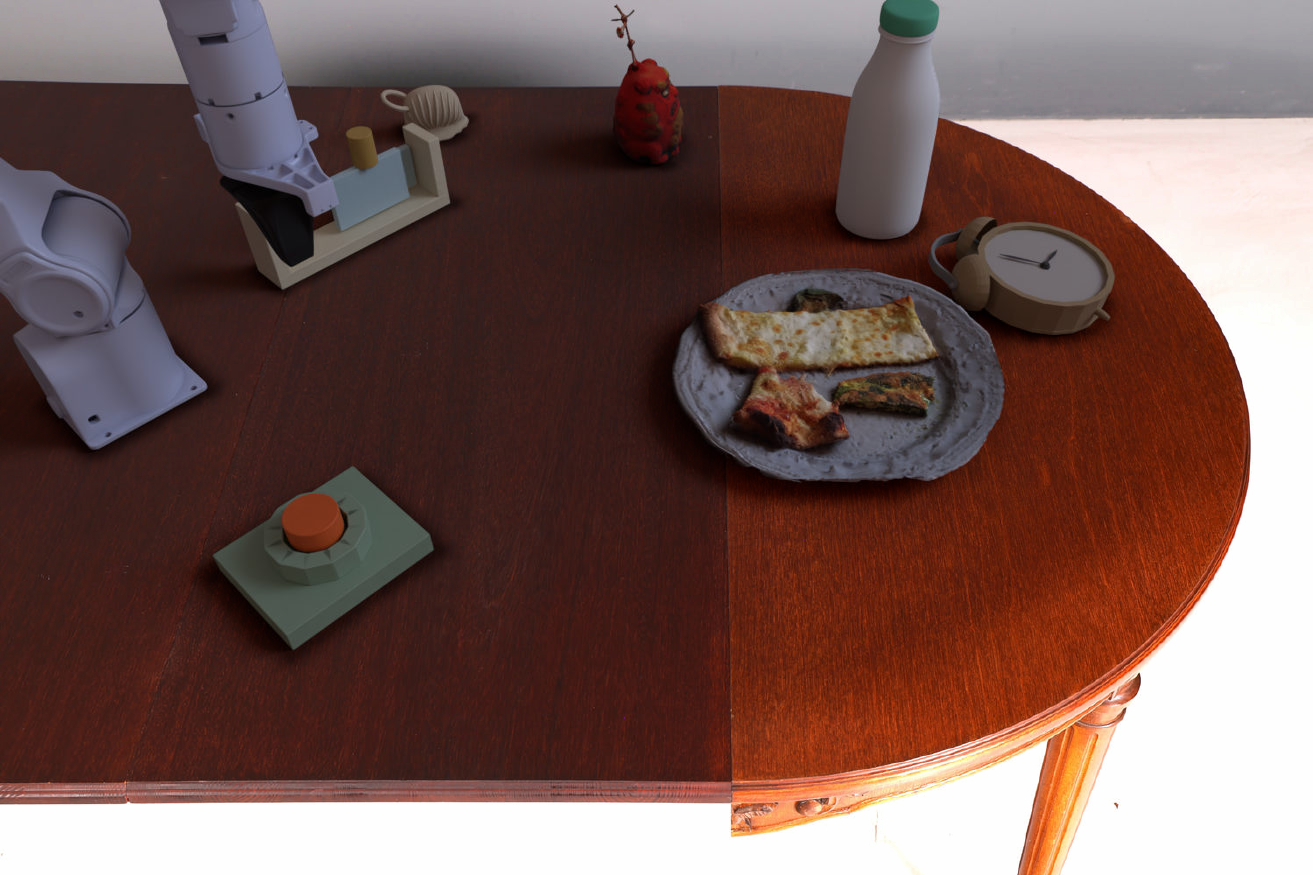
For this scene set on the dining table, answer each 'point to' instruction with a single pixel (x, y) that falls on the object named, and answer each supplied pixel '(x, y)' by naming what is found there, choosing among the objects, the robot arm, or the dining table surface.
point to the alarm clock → (1027, 275)
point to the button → (313, 522)
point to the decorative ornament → (431, 110)
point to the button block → (324, 560)
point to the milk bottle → (891, 126)
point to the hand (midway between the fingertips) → (297, 258)
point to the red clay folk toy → (646, 109)
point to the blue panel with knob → (367, 180)
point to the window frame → (335, 245)
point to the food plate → (839, 377)
